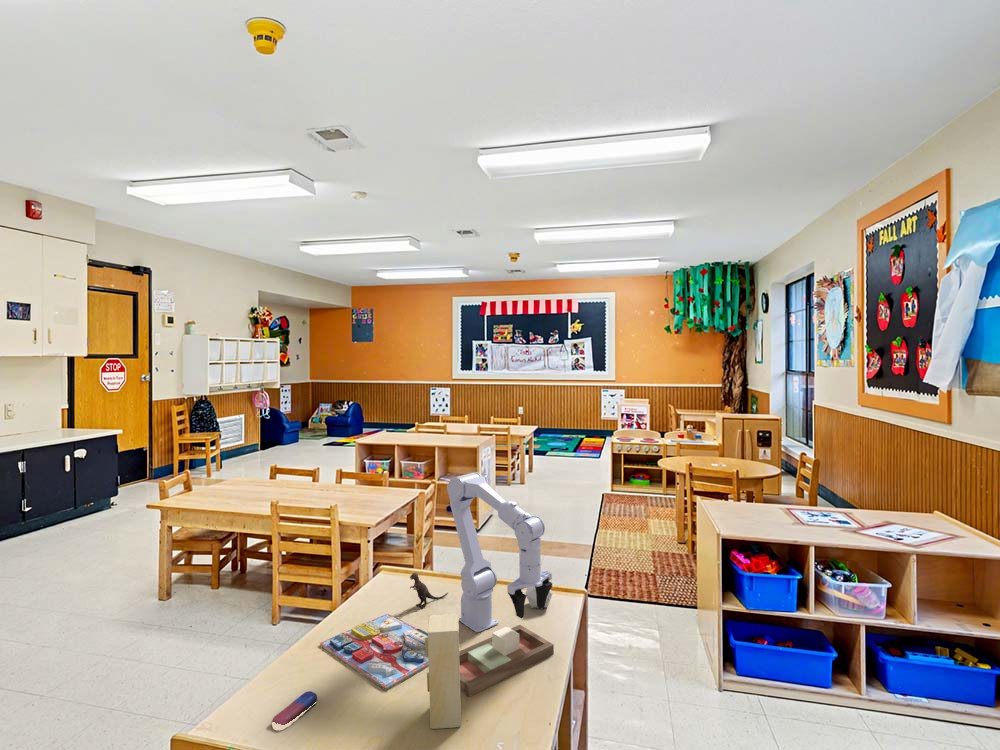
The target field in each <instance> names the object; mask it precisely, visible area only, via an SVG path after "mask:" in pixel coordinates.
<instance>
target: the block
mask: <svg viewBox="0 0 1000 750" xmlns="http://www.w3.org/2000/svg"><path fill="white" fill-rule="evenodd" d="M491 637H492V641H493V648H494V649H495V650H497V651H498V652H500V653H501V654H503V655H504V656H506V655H508V654H510V653H512V652H514V651H516V650H518V649H519V633H517V632H515V631H514V630H512V629H511V628H510V627H509V626H504V627H502V628H499V629H497V630H496V631H493V632H492V636H491Z"/></svg>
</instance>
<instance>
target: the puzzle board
mask: <svg viewBox="0 0 1000 750" xmlns="http://www.w3.org/2000/svg"><path fill="white" fill-rule="evenodd" d="M425 638H428V631H427V632H426V631H424V630H423V629H421V628H418V627H415V626H413V625H412V624H409V623H407V622H405V621H404V620H402V619H400V618H398V617H396V616H394V615H391V614H389V613H385V614H384V615H381V616H379V617H377V618H374V619H372V620H369V621H367V622H365V623H364V622H362V623H360V624H358V625H356V626H354V627H352V628H351V629H348V630H346V631H344V632H340V633H338V634H337V635H334V636H332V637H331V638H327V639H326V640H323V641H322V642H319V646H320V647H321V648H322V647H323V648H322V649H324V650H326V651H327V652H329V654H331V655H333V656H334V657H336V658H337V659H339V660H340V661H342V662H343V663H344V664H346V665H348V667H350V668H352V669H353V670H355V671H356V672H358V673H359V674H361V675H362V676H364V677H365V678H366V679H368V680H370V681H371V682H372V683H374V684H375V685H377V686H378V687H380V688H381V689H383V690H385V691H389V690H390V689H393V688H394V687H396V686H398V685H399V684H401V683H403V682H405V681H407V680H408V679H409V678H412V677H413V676H416V674H418V673H420V672H422V671H424V670H425V669H427V668H429V661H428V657H426V648H425Z"/></svg>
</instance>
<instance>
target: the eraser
mask: <svg viewBox="0 0 1000 750" xmlns="http://www.w3.org/2000/svg"><path fill="white" fill-rule="evenodd" d="M318 698H319V697H318V694H317V693H316V692H314V691H305V692H304V693H302V694H300V695H299V696H298V697H297V698H296V699H295V700H293V701H292V702H291V703H290V704H289V705H288V706H285V708H284V709H282V710H281V711H280V712H279V713H277V714H276V715H275V716H274V717H273V718H272V719H271V723H272V722H275V723H276V724H277V723H278V724H281V725H285V724H287V723H289V722H290V721H292V720H293V719H295V718H296V717H297V716H299V715H300V714H301V713H302V712H304V711H305V710H307V709H308V708H309V707H310V706H312V705H313V704H314V703H315V702H316V701H318Z"/></svg>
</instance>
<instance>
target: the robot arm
mask: <svg viewBox="0 0 1000 750" xmlns="http://www.w3.org/2000/svg"><path fill="white" fill-rule="evenodd" d="M446 491H447V494H448V498H449V503H450V509H451V513H452V516H453V517H452V518H453V520H454V525H455V529H456V531H457V535H458V539H459V543H460V548H461V551H462V555H463V556H462V557H463V558H464V562H465V564H464V566H463V567H462V570H461V571H460V577H461V583H460V584H461V585H460V586H461V590H462V595H461V597H460V618H459V617H458V621H459V622H461V623H462V624H463V625H465V626H466V627H468V628H469V629H471V630H472V631H474V632H475V633H481V632H482V631H485V630H487V629H489V628H492V627H494V626H496V625H498V624H499V621H497V620H496V619H494V618H493V602H492V599H493V598H492V597H493V595H492V593H493V592H494V588H495V587H496V585H497V583H498V577H497V574H496V572H495V570H494V569H493V567H492V564H491V561H489V560H487V558H486V559H485V558H484V556H483V553H482V548H481V544H480V541H479V536H478V534H477V530H476V526H475V523H474V519H473V514H472V511H471V507H470V506H471V504H472V502H473V501H474V499H475V498H479V499H480V500H482V501H483V502H485V504H487V505H488V506H490V507H491V508H493V509H495V511H497V516H498V518H499V519H500V520H501V521H503V522H504V523H505V524H506V525H507V526H508V527H510V529H512V530H513V531H514V535H515V538H516V539H517V546H518V547H519V551H518V552H519V577H518V578H516V579H515V580H513V581H512V582H511V583H510V584H507V594H508V596H509V598H510V599H511V601H512V604H513V606H514V610H515V615H516V617H518V618H520V619H523V618H524V615H525V603H526V599H527V595H526V594H525V593H524V592H523V590H525V589H527V587H532V586H535V589H536V598H537V607H539V609H541V610H544V609H545V608H544V607H545V603H546V599H547V596H548V593H549V591H550V589H551V590H552V588H553V583H552V580H553V573H552V572H551V571H549V570H545V571H542V569H541V568H542V567H541V566H542V563H541V562H542V561H541V557H542V554H541V553H542V551H541V548H542V547H541V537H543V535H544V534H545V530H546V528H545V524H544V522H543V520H542V519H541V518H540V517H539V516H538V515H531V514H529V513H528V512H526V511H524V510H523V509H522V508H521V507H520V506H519V505H518V503H517V502H515V501H512V500H507V501H506V500H505V499H504V498H503V497H502V496H500V494H498V493H497V491H495V490H494V489H493V488H492V487H491V486H490V485H489V484H488V483H487V480H486V477H484V476H483V475H481V474H480V472H477V471H473V472H470V473H466V474H463V475H459V476H458V475H457V476H453V477H451V478H450V479H449V481H448V484H447V486H446Z"/></svg>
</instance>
